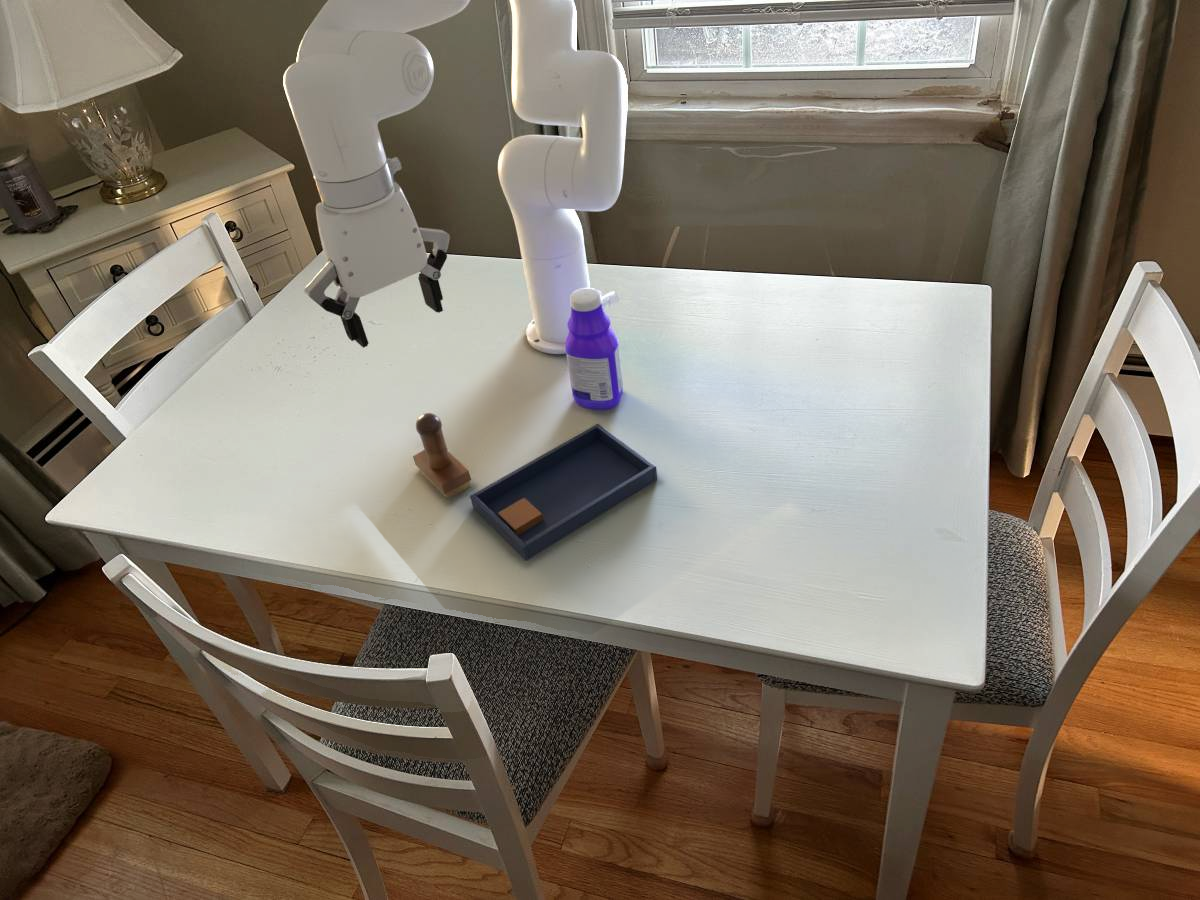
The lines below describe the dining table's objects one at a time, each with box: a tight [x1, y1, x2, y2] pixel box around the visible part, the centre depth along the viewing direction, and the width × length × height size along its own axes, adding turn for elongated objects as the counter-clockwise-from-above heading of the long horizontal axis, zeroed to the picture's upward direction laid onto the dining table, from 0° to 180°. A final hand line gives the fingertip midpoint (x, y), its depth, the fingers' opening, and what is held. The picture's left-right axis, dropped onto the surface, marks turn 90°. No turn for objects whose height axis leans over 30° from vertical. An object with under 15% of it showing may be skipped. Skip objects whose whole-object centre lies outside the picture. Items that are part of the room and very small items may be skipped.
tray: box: [469, 423, 658, 562], centre depth 114 cm, size 20×12×3 cm, turn 127°
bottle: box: [565, 287, 624, 410], centre depth 124 cm, size 7×6×17 cm
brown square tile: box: [498, 498, 543, 536], centre depth 111 cm, size 4×4×1 cm
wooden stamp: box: [412, 412, 472, 500], centre depth 116 cm, size 4×8×11 cm, turn 37°
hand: (398, 324), depth 104 cm, fingers open, 9 cm apart
